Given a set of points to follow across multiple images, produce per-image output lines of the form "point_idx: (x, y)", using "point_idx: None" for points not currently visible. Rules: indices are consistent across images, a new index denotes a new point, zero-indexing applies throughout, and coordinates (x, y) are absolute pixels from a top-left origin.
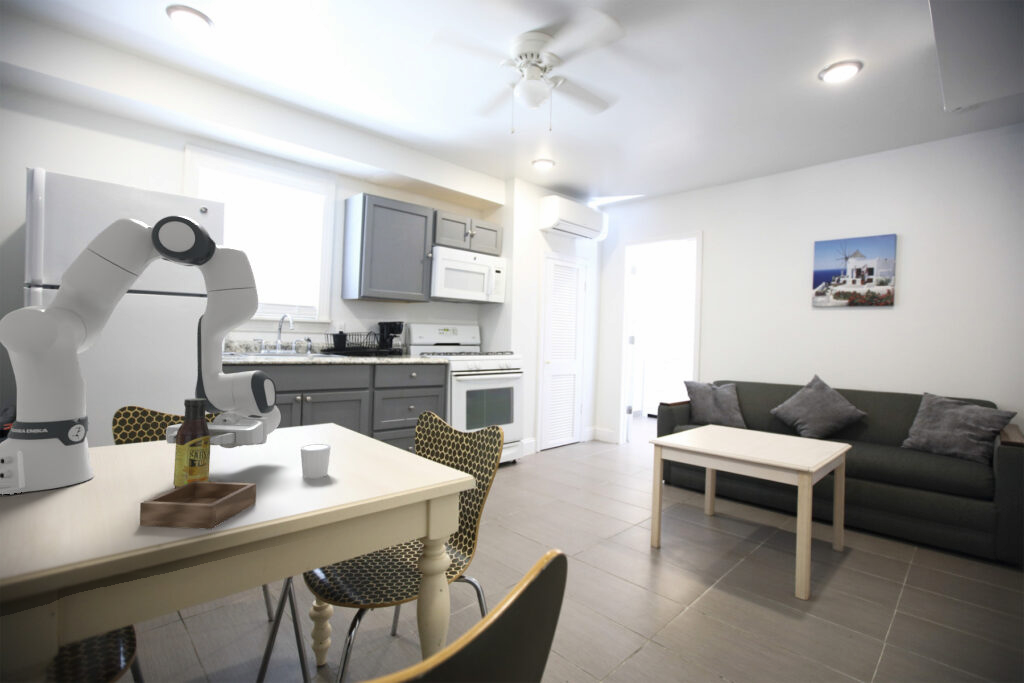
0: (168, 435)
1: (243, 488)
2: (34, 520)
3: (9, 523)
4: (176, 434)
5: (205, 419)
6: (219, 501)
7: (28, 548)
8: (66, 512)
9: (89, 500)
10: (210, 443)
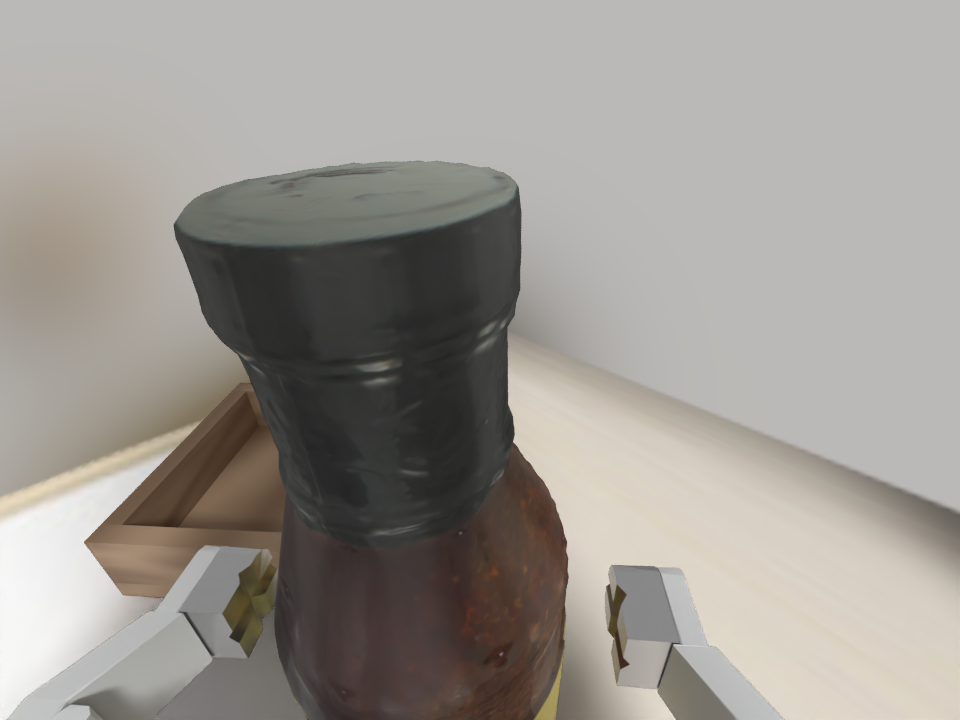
0: (679, 569)
1: (147, 489)
2: (717, 443)
3: (748, 428)
4: (649, 620)
5: (290, 504)
6: (225, 402)
7: (552, 363)
8: (713, 488)
9: (803, 592)
10: (272, 572)
